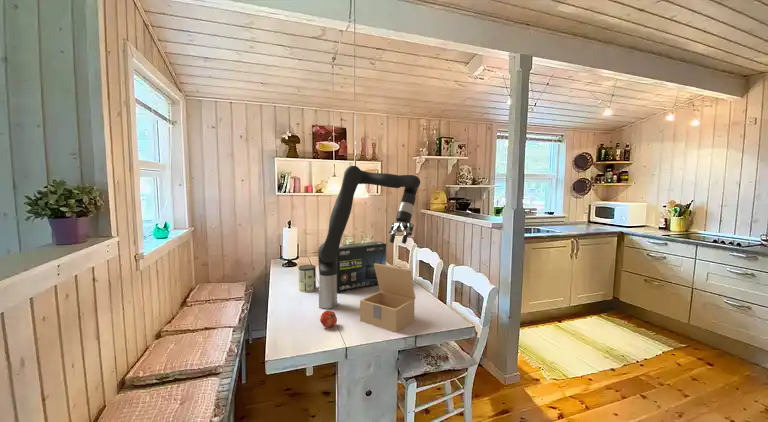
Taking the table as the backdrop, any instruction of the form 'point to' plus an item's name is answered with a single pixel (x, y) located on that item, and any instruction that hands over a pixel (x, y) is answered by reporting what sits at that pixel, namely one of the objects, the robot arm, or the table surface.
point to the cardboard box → (387, 311)
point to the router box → (359, 265)
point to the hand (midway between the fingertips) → (397, 242)
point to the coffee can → (307, 278)
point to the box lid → (395, 280)
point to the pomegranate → (328, 319)
